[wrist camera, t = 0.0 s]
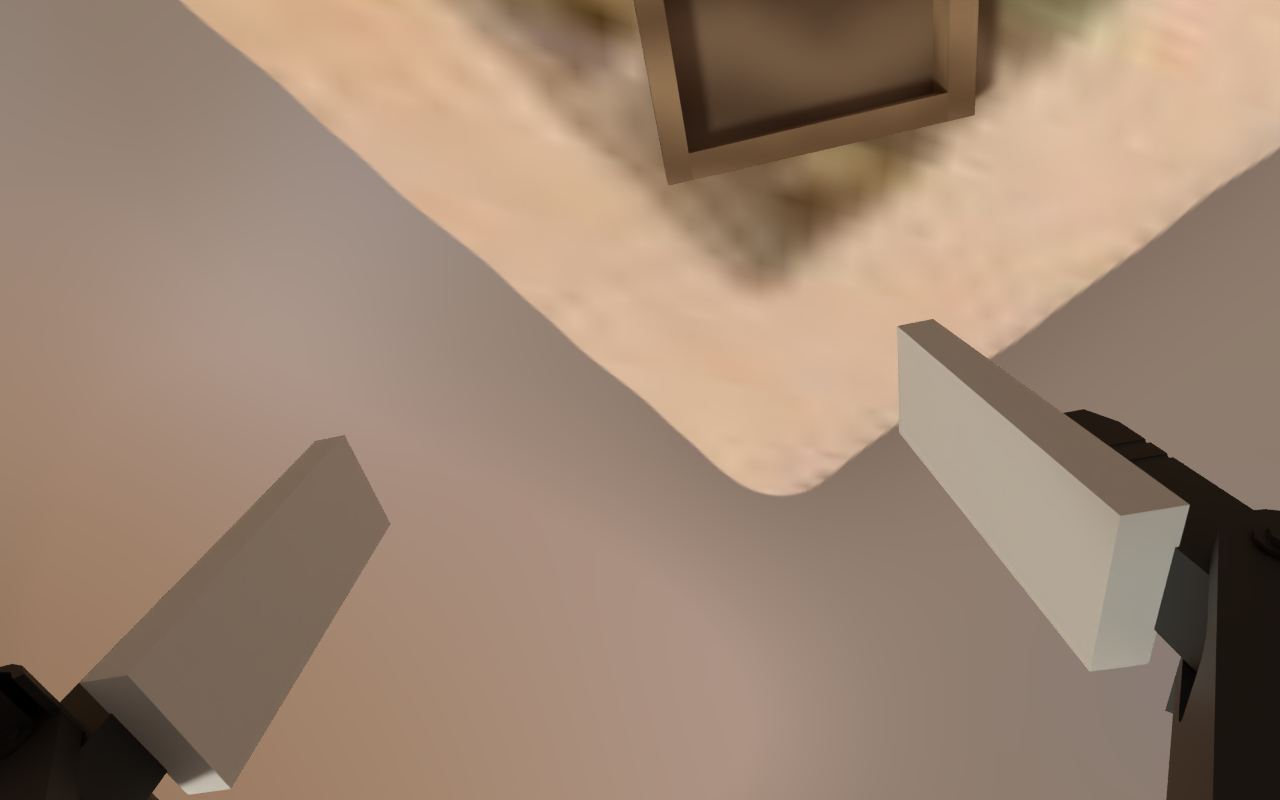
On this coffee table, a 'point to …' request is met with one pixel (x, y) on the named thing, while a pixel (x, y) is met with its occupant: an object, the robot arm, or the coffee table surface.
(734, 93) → the walnut tray
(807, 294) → the coffee table surface
